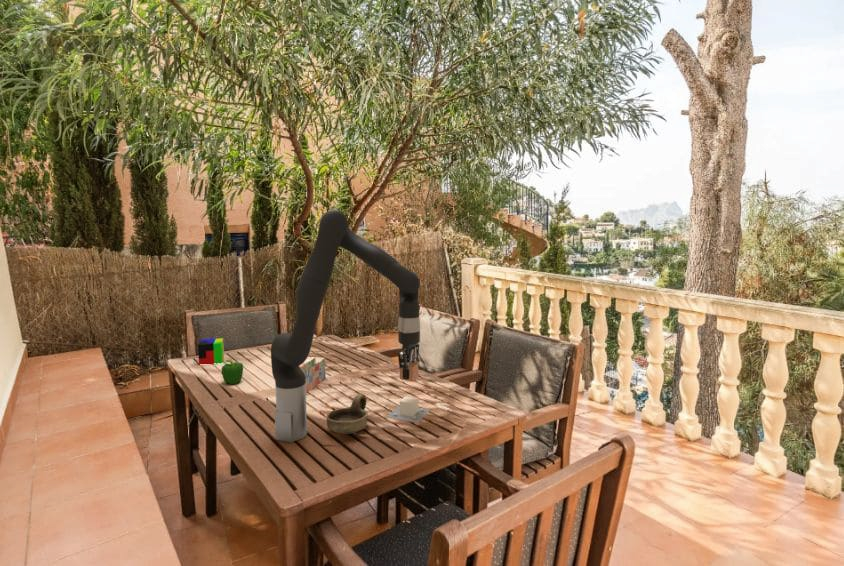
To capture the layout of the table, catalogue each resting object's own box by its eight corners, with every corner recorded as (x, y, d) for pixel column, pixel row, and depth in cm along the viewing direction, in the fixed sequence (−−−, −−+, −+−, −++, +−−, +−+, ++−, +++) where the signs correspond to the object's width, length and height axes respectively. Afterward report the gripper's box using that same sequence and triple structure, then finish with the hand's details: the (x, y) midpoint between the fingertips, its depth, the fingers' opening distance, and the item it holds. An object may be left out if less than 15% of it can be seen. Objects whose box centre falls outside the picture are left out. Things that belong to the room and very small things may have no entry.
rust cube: (413, 381, 161) (413, 367, 160) (399, 379, 163) (399, 365, 162) (418, 376, 165) (418, 363, 165) (405, 374, 167) (405, 361, 166)
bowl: (316, 435, 151) (316, 405, 149) (348, 415, 166) (348, 388, 165) (351, 445, 144) (351, 414, 143) (381, 423, 160) (381, 395, 158)
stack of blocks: (312, 377, 206) (312, 350, 204) (325, 378, 204) (325, 351, 203) (287, 394, 185) (286, 364, 183) (302, 396, 184) (301, 366, 182)
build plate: (418, 425, 158) (418, 421, 158) (386, 419, 162) (386, 415, 162) (430, 412, 169) (430, 407, 169) (400, 407, 174) (400, 402, 173)
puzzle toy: (202, 359, 230) (201, 339, 228) (224, 357, 233) (223, 338, 231) (199, 365, 220) (197, 344, 219) (222, 363, 223) (220, 343, 222)
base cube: (412, 417, 163) (412, 403, 162) (399, 414, 164) (399, 401, 164) (418, 411, 167) (418, 398, 166) (405, 409, 169) (405, 396, 168)
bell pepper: (248, 380, 200) (247, 358, 198) (233, 387, 192) (232, 363, 191) (233, 378, 203) (232, 355, 202) (218, 384, 196) (217, 360, 195)
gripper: (407, 323, 169) (407, 369, 172) (390, 332, 156) (390, 381, 159) (426, 325, 167) (426, 371, 169) (411, 335, 154) (411, 384, 156)
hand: (408, 376), depth 164 cm, fingers closed on rust cube, 5 cm apart
